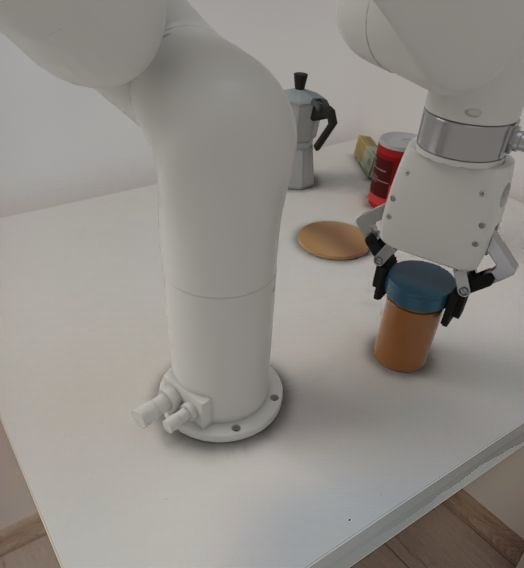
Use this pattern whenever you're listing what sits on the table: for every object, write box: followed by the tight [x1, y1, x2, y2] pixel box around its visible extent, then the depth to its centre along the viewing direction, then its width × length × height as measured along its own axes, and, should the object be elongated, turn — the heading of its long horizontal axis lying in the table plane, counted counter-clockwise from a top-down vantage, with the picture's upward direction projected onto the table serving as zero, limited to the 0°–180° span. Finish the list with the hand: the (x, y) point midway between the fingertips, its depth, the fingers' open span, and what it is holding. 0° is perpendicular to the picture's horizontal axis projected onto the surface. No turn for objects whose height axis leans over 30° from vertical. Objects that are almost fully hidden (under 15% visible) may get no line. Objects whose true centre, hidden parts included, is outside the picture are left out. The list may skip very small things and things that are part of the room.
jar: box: [373, 295, 445, 373], centre depth 56 cm, size 6×6×10 cm
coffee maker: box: [283, 71, 338, 190], centre depth 89 cm, size 15×9×18 cm, turn 43°
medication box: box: [353, 134, 378, 179], centre depth 100 cm, size 12×3×4 cm, turn 7°
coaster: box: [297, 220, 370, 261], centre depth 79 cm, size 11×11×1 cm
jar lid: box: [384, 259, 456, 312], centre depth 53 cm, size 7×7×2 cm
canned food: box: [367, 131, 418, 209], centre depth 86 cm, size 8×8×11 cm
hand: (414, 305), depth 55 cm, fingers closed on jar lid, 6 cm apart
